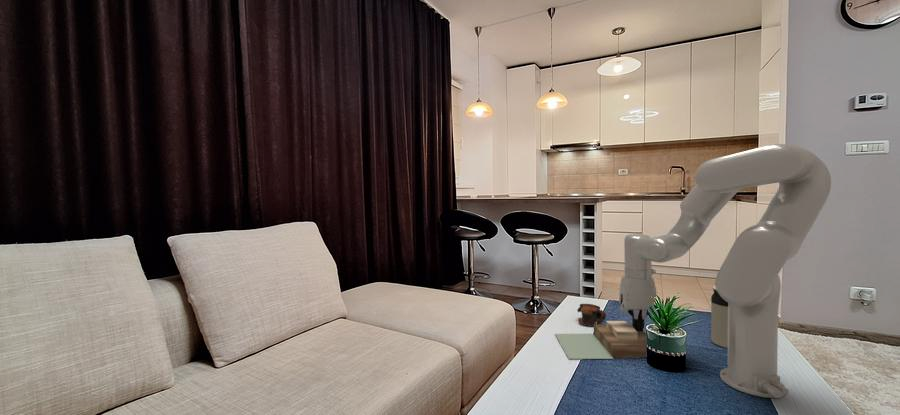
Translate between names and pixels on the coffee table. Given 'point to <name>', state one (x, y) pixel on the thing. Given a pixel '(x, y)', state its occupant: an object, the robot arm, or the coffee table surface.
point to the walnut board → (621, 343)
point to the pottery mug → (591, 314)
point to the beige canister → (719, 319)
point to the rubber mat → (582, 346)
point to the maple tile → (621, 330)
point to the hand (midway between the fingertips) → (638, 329)
